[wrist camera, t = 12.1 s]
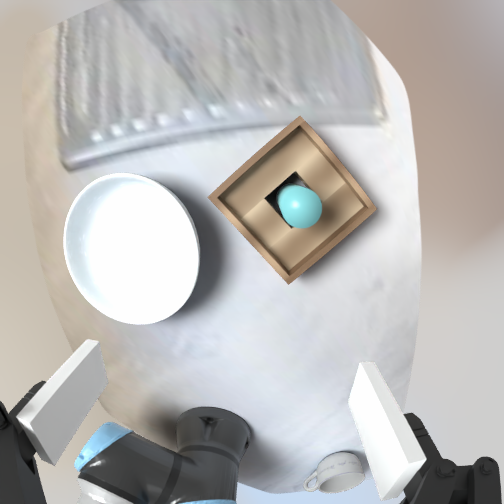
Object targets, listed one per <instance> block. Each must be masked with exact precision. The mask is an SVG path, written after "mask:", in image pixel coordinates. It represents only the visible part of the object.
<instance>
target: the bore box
mask: <svg viewBox="0 0 504 504" xmlns="http://www.w3.org/2000/svg"><path fill="white" fill-rule="evenodd" d="M292 173H295V174H296V175H297V177H298V178H299V179H300V180H301V181H302V182H303V183H304V185H305V186H306V187H307V188H308V189H310V190H312V191H313V192H315V193H316V194H317V195H318V197H319V198H320V200H321V203H322V213H321V216H320V218H319V220H318V221H317V222H316V223H315V224H314V225H312V226H311V227H308V228H296V227H293V226H291V225H290V224H289V223H288V222H287V221H286V220H285V219H284V218H283V217H282V215H281V214H280V213H279V212H278V211H277V210H276V209H275V208H274V206H273V205H272V204H271V203H270V202H269V201H268V200H267V199H266V198H265V197H266V196H267V195H268V194H270V193H271V192H272V191H273V190H274V189H275V188H276V187H277V186H279V185H280V184H281V183H282V182H283V181H284V180H285V179H287V178H288V177H289V176H290V175H291V174H292ZM208 198H209V199H210V200H211V202H212V203H213V204H214V205H215V206H216V207H217V208H218V209H219V210H220V211H221V212H222V213H223V214H224V216H225V217H226V218H227V219H228V220H229V221H230V222H231V223H232V224H233V225H234V226H235V227H236V228H237V230H238V231H239V232H240V233H241V234H242V235H243V236H244V237H245V238H246V239H247V240H248V241H249V242H250V244H251V245H252V246H253V247H254V248H255V249H256V250H257V251H258V252H259V253H260V254H261V255H262V257H263V258H264V259H265V260H266V261H267V262H268V263H269V264H270V265H271V266H272V267H273V268H274V269H275V271H276V272H277V273H278V274H279V275H280V276H281V277H282V278H283V279H284V280H285V281H286V282H287V284H288V285H289V284H290V283H291V282H293V281H294V280H295V279H296V278H297V277H299V276H300V275H301V274H302V273H304V272H305V271H306V270H307V269H308V268H310V267H311V266H312V265H313V264H314V263H316V262H317V261H318V260H319V259H320V258H321V257H323V256H324V255H325V254H326V253H327V252H329V251H330V250H331V249H332V248H333V247H334V246H336V245H337V244H338V243H339V242H340V241H341V240H343V239H344V238H345V237H346V236H347V235H348V234H349V233H351V232H352V231H353V230H354V229H355V228H356V227H358V226H359V225H360V224H361V223H362V222H363V221H364V220H365V219H367V218H368V217H369V216H370V215H371V214H372V213H373V212H374V211H376V210H377V208H376V207H375V205H374V204H373V203H372V201H371V200H370V199H369V197H368V196H367V195H366V193H365V192H364V191H363V189H362V188H361V187H360V186H359V184H358V183H357V182H356V180H355V179H354V178H353V177H352V175H351V174H350V173H349V172H348V170H347V169H346V168H345V167H344V165H343V164H342V163H341V162H340V160H339V159H338V158H337V157H336V156H335V154H334V153H333V152H332V151H331V150H330V149H329V147H328V146H327V145H326V144H325V143H324V142H323V140H322V139H321V138H320V137H319V136H318V135H317V134H316V133H315V131H314V130H313V129H312V128H311V127H310V126H309V125H308V124H307V123H306V121H305V120H304V119H303V118H302V117H301V116H299V117H298V118H296V119H295V120H294V121H293V122H292V123H290V124H289V125H288V126H287V127H286V128H284V129H283V130H282V131H281V132H280V133H279V134H277V135H276V136H275V137H274V138H273V139H272V140H270V141H269V142H268V143H267V144H266V145H265V146H263V147H262V148H261V149H260V150H259V151H258V152H257V153H255V154H254V155H253V156H252V157H251V158H250V159H249V160H248V161H246V162H245V163H244V164H243V165H242V166H241V167H240V168H239V169H238V170H236V171H235V172H234V173H233V174H232V175H231V176H230V177H229V178H228V179H227V180H225V181H224V182H223V183H222V184H221V185H220V186H219V187H218V188H217V189H216V190H215V191H214V192H213V193H212V194H211V195H209V196H208Z"/></svg>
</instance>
